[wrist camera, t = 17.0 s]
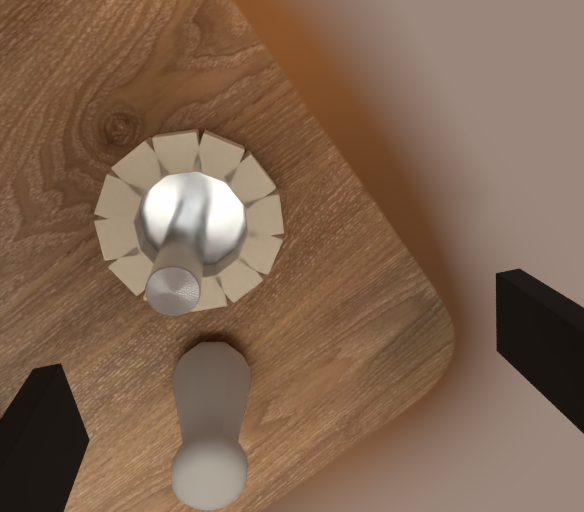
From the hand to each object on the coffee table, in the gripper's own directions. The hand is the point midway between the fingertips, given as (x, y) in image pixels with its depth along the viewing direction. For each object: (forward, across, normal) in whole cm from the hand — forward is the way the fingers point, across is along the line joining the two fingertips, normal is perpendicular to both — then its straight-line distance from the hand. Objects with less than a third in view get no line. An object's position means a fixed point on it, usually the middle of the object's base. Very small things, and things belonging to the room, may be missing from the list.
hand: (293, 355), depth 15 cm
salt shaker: (+22, -5, -12) cm, 26 cm away
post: (+22, -4, 0) cm, 22 cm away
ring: (+21, -4, 0) cm, 21 cm away
